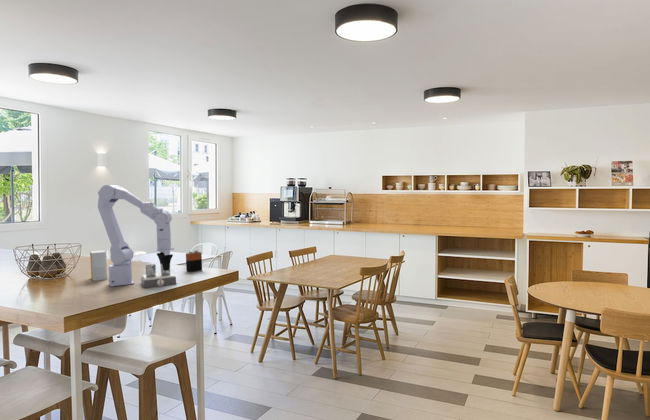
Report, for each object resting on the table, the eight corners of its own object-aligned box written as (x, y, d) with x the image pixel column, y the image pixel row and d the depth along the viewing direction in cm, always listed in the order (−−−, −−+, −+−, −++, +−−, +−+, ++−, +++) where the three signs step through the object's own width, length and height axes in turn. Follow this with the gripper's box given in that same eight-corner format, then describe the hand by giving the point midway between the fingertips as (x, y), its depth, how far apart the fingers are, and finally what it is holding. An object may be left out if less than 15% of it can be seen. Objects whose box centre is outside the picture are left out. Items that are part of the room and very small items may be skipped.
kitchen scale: (144, 288, 188) (144, 279, 188) (141, 283, 199) (140, 275, 198) (176, 284, 194) (176, 276, 194) (171, 279, 205) (171, 271, 205)
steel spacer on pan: (146, 277, 192) (146, 265, 192) (145, 276, 196) (145, 264, 196) (156, 276, 194) (156, 264, 194) (155, 275, 198) (154, 263, 198)
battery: (202, 270, 228) (201, 250, 228) (191, 272, 223) (190, 252, 222) (197, 269, 231) (196, 250, 230) (186, 271, 225) (185, 251, 225)
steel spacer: (161, 275, 195) (161, 264, 195) (160, 274, 199) (159, 263, 199) (171, 274, 197) (170, 263, 197) (169, 273, 201) (169, 262, 201)
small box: (91, 278, 213) (89, 251, 213) (105, 276, 217) (104, 249, 216) (92, 281, 206) (91, 253, 206) (107, 279, 210) (106, 251, 209)
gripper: (176, 239, 193) (177, 270, 193) (170, 236, 206) (171, 266, 206) (159, 240, 189) (160, 272, 190) (154, 237, 202) (155, 267, 203)
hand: (165, 269), depth 198 cm, fingers open, 5 cm apart
